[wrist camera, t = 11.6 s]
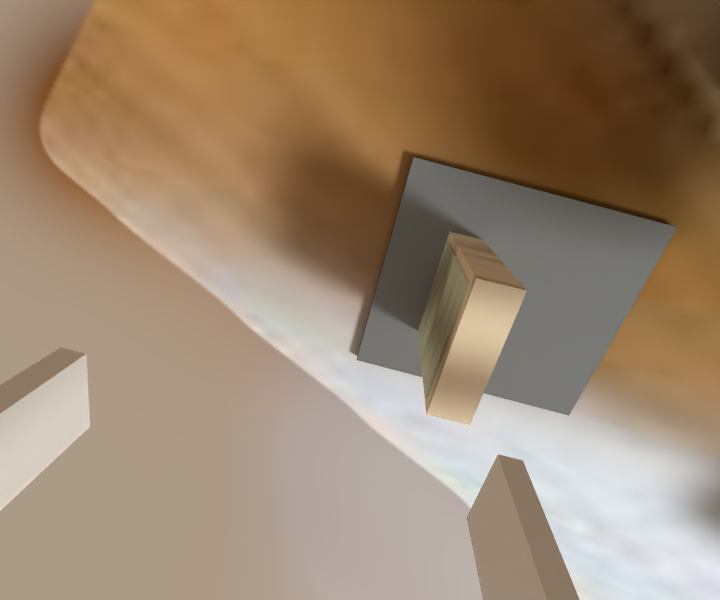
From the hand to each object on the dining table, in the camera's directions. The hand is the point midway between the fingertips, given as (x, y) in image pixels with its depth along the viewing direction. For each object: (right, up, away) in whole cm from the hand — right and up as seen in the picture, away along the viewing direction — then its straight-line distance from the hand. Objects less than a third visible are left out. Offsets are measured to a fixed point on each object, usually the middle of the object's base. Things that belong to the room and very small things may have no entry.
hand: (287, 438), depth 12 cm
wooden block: (+9, +5, +17) cm, 20 cm away
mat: (+13, +4, +17) cm, 22 cm away
